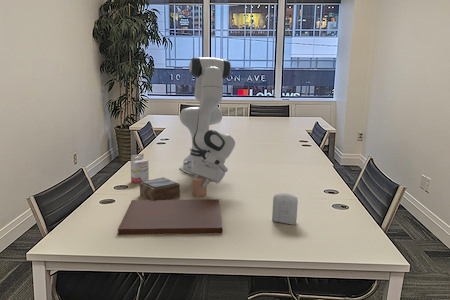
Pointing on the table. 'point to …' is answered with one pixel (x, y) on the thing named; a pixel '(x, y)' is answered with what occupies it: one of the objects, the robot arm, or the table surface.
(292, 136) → the table surface
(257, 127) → the table surface
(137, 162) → the ink cartridge box
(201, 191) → the terracotta block
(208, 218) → the brown wooden board
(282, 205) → the grey tombstone
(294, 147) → the table surface
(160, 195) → the walnut pedestal
